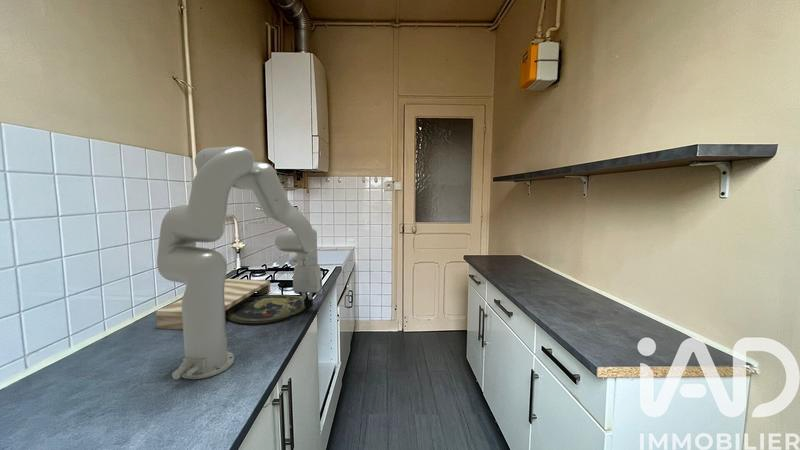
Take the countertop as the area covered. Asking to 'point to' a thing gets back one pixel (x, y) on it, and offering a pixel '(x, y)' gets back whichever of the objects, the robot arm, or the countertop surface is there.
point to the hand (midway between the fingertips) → (308, 308)
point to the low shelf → (232, 295)
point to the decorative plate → (266, 310)
